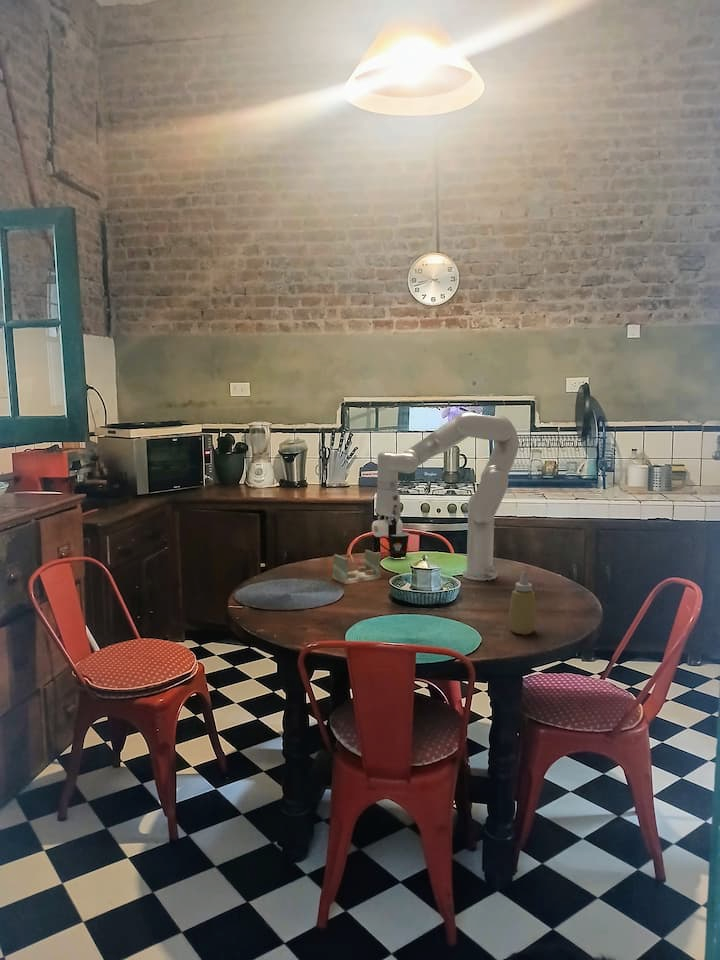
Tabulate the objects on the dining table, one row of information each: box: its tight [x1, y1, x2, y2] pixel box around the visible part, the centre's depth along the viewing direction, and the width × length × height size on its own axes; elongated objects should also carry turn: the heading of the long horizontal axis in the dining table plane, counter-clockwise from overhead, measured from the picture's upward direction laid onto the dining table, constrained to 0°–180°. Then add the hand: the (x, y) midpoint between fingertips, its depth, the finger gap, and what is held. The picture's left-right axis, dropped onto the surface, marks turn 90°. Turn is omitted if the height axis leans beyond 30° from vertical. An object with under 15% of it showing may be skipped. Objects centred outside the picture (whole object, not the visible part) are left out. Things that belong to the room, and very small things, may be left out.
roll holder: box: [332, 549, 381, 585], centre depth 271 cm, size 15×9×9 cm, turn 123°
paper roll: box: [371, 518, 404, 538], centre depth 276 cm, size 10×6×6 cm, turn 123°
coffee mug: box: [378, 531, 410, 558], centre depth 302 cm, size 12×9×10 cm
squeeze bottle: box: [508, 570, 537, 635], centre depth 215 cm, size 8×8×18 cm
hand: (387, 532), depth 277 cm, fingers closed on paper roll, 6 cm apart
